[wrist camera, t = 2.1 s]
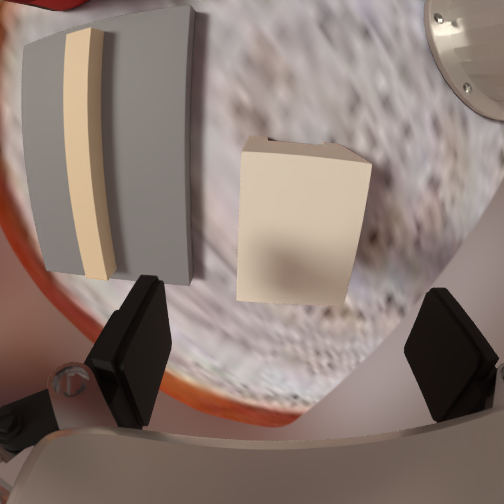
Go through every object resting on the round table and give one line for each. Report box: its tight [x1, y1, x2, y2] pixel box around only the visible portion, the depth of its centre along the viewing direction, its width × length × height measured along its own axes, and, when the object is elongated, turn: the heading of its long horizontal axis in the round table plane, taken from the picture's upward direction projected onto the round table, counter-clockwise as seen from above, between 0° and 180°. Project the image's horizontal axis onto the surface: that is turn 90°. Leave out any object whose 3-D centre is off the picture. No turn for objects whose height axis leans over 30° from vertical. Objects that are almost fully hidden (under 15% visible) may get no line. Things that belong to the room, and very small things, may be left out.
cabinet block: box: [237, 136, 372, 306], centre depth 18 cm, size 6×9×7 cm
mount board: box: [21, 5, 196, 286], centre depth 18 cm, size 14×20×3 cm
